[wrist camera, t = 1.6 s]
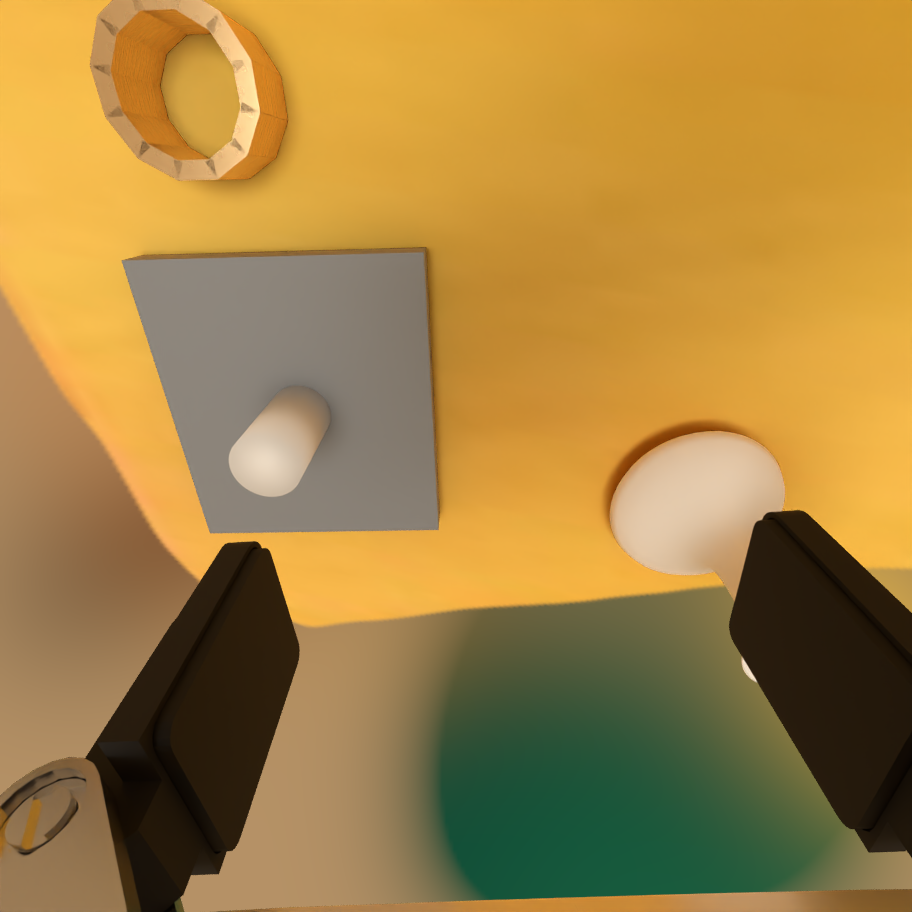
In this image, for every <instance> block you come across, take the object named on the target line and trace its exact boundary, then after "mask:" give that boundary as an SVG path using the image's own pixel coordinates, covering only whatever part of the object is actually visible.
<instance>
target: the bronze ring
mask: <svg viewBox="0 0 912 912" xmlns="http://www.w3.org/2000/svg"><path fill="white" fill-rule="evenodd" d="M187 34H212V35H213V37H214V38H215V40H216V42H217V43H218V45H219V46H220V48H221V49H222V51H223V52H224V54H225V55H226V57H227V58H228V60H229V61H230V63H231V64H232V66H233V69H234V74H235V79H236V84H237V90H238V95H239V100H240V105H241V108H240V111H239V115H238V119H237V122H236V126H235V129H234V133H233V137H232V140H231V141H230V142H229V143H228V144H226V145H225V146H224V147H223V148H222V149H220V150H219V151H218V152H217V153H216V154H214V155H213V156H212V157H211V158H210V159H209V158H207V157H205V156H204V155H202V154H200V153H198V152H197V151H195V150H193V149H191V148H189V147H188V145H187V144H186V143H185V141H184V140H183V139H182V137H181V136H180V134H179V133H178V132H177V130H176V129H175V128H174V126H173V125H172V124H171V122H170V121H169V120H168V116H167V112H166V108H165V104H164V100H163V96H162V92H161V88H160V83H161V78H162V73H163V69H164V64H165V59H166V54H167V53H168V52H169V51H170V50H171V49H172V48H173V47H175V46H176V45H177V44H178V43H179V42H180V41H181V40H182V39H183V38H184V37H185V36H186V35H187ZM90 65H91V66H90V68H91V71H92V74H93V78H94V81H95V84H96V87H97V91H98V94H99V97H100V101H101V104H102V107H103V111H104V114H105V117H106V119H107V120H108V121H109V122H110V124H111V125H112V126H113V128H114V129H115V130H116V131H117V133H118V134H119V135H120V136H121V138H122V139H123V140H124V142H125V143H126V144H127V145H128V147H129V148H130V149H131V150H132V152H133V153H134V154H135V155H136V157H137V158H138V159H140V160H141V161H143V162H145V163H147V164H149V165H151V166H152V167H154V168H156V169H158V170H160V171H162V172H164V173H165V174H167V175H169V176H171V177H173V178H175V179H176V180H179V181H183V180H226V179H250V178H251V177H253V176H254V175H255V174H256V173H258V172H259V171H260V170H261V169H263V168H264V167H265V166H266V165H268V164H269V163H270V162H271V161H273V160H274V159H275V158H276V157H277V153H278V150H279V147H280V144H281V141H282V138H283V135H284V131H285V128H286V125H287V122H288V118H287V112H286V105H285V99H284V93H283V86H282V80H281V75H280V74H279V72H278V70H277V69H276V67H275V66H274V64H273V63H272V61H271V59H270V58H269V56H268V55H267V53H266V51H265V50H264V48H263V47H262V45H261V43H260V42H259V40H258V39H257V37H256V36H255V35H254V34H253V33H251V32H250V31H248V30H247V29H246V28H244V27H243V26H241V25H240V24H238V23H237V22H235V21H234V20H232V19H231V18H229V17H228V16H226V15H225V14H223V13H222V12H220V11H219V10H217V9H216V8H214V7H212V6H211V5H209V4H208V3H206V2H205V1H203V0H112V1H111V2H110V3H109V4H108V5H107V6H106V7H105V8H104V9H103V10H102V11H101V12H100V13H99V14H98V16H97V21H96V28H95V35H94V41H93V48H92V54H91V61H90Z"/></svg>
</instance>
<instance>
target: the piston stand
mask: <svg viewBox="0 0 912 912" xmlns="http://www.w3.org/2000/svg"><path fill="white" fill-rule="evenodd" d="M122 263H123V266H124V269H125V272H126V275H127V279H128V282H129V285H130V288H131V291H132V294H133V297H134V300H135V303H136V306H137V309H138V312H139V316H140V319H141V322H142V325H143V328H144V331H145V334H146V337H147V340H148V343H149V346H150V349H151V353H152V356H153V359H154V362H155V365H156V368H157V371H158V374H159V377H160V380H161V383H162V386H163V390H164V393H165V396H166V399H167V402H168V405H169V408H170V411H171V414H172V417H173V420H174V423H175V426H176V430H177V433H178V436H179V439H180V442H181V445H182V448H183V451H184V454H185V457H186V460H187V463H188V467H189V470H190V473H191V476H192V479H193V482H194V485H195V488H196V491H197V494H198V497H199V500H200V504H201V507H202V510H203V513H204V516H205V519H206V522H207V525H208V528H209V531H210V533H261V532H326V531H392V530H439V514H440V511H439V492H438V472H437V453H436V433H435V414H434V394H433V375H432V355H431V336H430V316H429V297H428V277H427V258H426V248H390V249H353V250H317V251H280V252H243V253H206V254H170V255H141V256H137V257H133V258H129V259H126V260H122Z"/></svg>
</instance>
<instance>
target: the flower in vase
mask: <svg viewBox="0 0 912 912" xmlns="http://www.w3.org/2000/svg"><path fill="white" fill-rule="evenodd" d="M784 500H785V487H784V481H783V477H782V473H781V470H780V467H779V465H778V463H777V461H776V459H775V458H774V456H773V455H772V454H771V453H770V452H769V451H768V449H766V448H765V447H764V446H763V445H761V444H760V443H758V442H757V441H755V440H753V439H751V438H749V437H746V436H744V435H741V434H736V433H732V432H724V431H705V432H697V433H692V434H688V435H684V436H680V437H677V438H674V439H671V440H669V441H667V442H665V443H662V444H660V445H658V446H657V447H655V448H653V449H652V450H650V451H649V452H647V453H646V454H645V455H643V456H642V457H641V458H640V459H639V460H638V461H637V462H636V463H634V464H633V465H632V467H631V468H630V469H629V470H628V472H627V473H626V474H625V475H624V476H623V478H622V480H621V481H620V483H619V484H618V486H617V488H616V491H615V493H614V495H613V499H612V502H611V507H610V524H611V530H612V532H613V535H614V537H615V539H616V541H617V543H618V544H619V546H620V547H621V548H622V549H623V550H624V551H625V552H626V553H627V554H628V555H629V556H630V557H632V558H633V559H634V560H636V561H637V562H639V563H640V564H642V565H643V566H645V567H647V568H650V569H652V570H655V571H658V572H662V573H667V574H675V575H699V574H706V573H711V572H715V573H716V574H717V575H718V576H719V577H720V579H721V580H722V581H723V583H724V584H725V586H726V588H727V589H728V591H729V593H730V594H731V596H732V598H733V600H734V602H735V598H736V594H737V590H738V586H739V582H740V578H741V574H742V570H743V566H744V562H745V559H746V555H747V551H748V547H749V543H750V539H751V535H752V531H753V527H754V525H755V523H756V522H757V521H759V520H762V519H763V516H764V515H765V514H766V513H768V512H777V511H782V509H783V505H784ZM742 666H743V669H744V671H745V673H746V674H747V676H748V677H750V678H751V679H752V680H753V681H755V682H757V681H756V679H755V677H754V676H753V674H752V672H751V671H750V669H749V667H748V666H747V664H746V662H745V661H744V659H743V657H742ZM757 683H758V682H757Z"/></svg>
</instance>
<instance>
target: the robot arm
mask: <svg viewBox="0 0 912 912" xmlns="http://www.w3.org/2000/svg"><path fill="white" fill-rule="evenodd" d="M729 628H730V629H729V630H730V635H731V637H732V640H733V642H734V644H735V646H736V647H737V649H738V650H739V652H740V654H741V656H742V657H743V659H744V661H745V662H746V664H747V666H748V667H749V669H750V671H751V672H752V674H753V676H754V677H755V679H756V681H757V682H758V684H759V686H760V687H761V689H762V691H763V692H764V694H765V696H766V697H767V699H768V700H769V702H770V704H771V706H772V707H773V709H774V711H775V712H776V714H777V716H778V717H779V719H780V721H781V722H782V724H783V726H784V727H785V729H786V731H787V732H788V734H789V736H790V738H791V739H792V741H793V743H794V744H795V746H796V748H797V749H798V751H799V753H800V754H801V756H802V758H803V759H804V761H805V763H806V764H807V766H808V767H809V769H810V771H811V772H812V774H813V776H814V778H815V779H816V781H817V783H818V784H819V786H820V788H821V789H822V791H823V793H824V794H825V796H826V798H827V799H828V801H829V802H830V804H831V806H832V808H833V809H834V811H835V813H836V814H837V816H838V817H839V819H840V820H841V821H842V823H843V824H844V825H845V826H846V827H848V828H850V829H855V831H856V832H857V834H858V836H859V837H860V839H861V841H862V842H863V843H864V845H865V847H866V849H867V850H868V852H897V851H906V850H907V852H908V853H909V854H910V856H911V857H912V613H911V612H910V611H909V610H908V609H907V608H906V607H905V606H904V605H903V604H902V603H901V602H900V601H899V600H898V599H896V598H895V597H894V596H893V595H892V594H891V593H890V592H889V591H888V590H887V589H886V588H885V587H884V586H883V585H882V584H881V583H880V582H879V581H878V580H876V579H875V578H874V577H873V576H872V575H871V574H870V573H869V572H868V571H867V570H866V569H865V568H864V567H863V566H862V565H861V564H860V563H859V562H858V561H857V560H856V559H854V558H853V557H852V556H851V555H850V554H849V553H848V552H847V551H846V550H845V549H844V548H843V547H842V546H841V545H840V544H839V543H838V542H837V541H836V540H835V539H833V538H832V537H831V536H830V535H829V534H828V533H827V532H826V531H825V530H824V529H823V528H822V527H821V526H820V525H819V524H818V523H817V522H816V521H815V520H814V519H812V518H811V517H810V516H809V515H808V514H807V513H805V512H804V511H800V510H795V511H777V512H768V513H766V514H765V515H764V516H763V519H762V520H759V521H757V522H756V523H755V525H754V527H753V531H752V535H751V539H750V543H749V547H748V551H747V555H746V559H745V562H744V566H743V570H742V574H741V578H740V582H739V586H738V590H737V594H736V598H735V602H734V606H733V610H732V614H731V618H730V623H729ZM298 660H299V643H298V640H297V636H296V633H295V630H294V627H293V624H292V620H291V617H290V614H289V611H288V607H287V604H286V601H285V598H284V595H283V591H282V588H281V585H280V582H279V579H278V575H277V572H276V569H275V566H274V563H273V559H272V556H271V553H270V551H269V550H268V549H266V548H261V545H260V544H259V543H258V542H255V541H253V542H236V543H227V544H225V545H224V546H223V547H222V548H221V550H220V551H219V553H218V554H217V556H216V558H215V559H214V561H213V562H212V564H211V565H210V567H209V569H208V570H207V572H206V573H205V575H204V576H203V578H202V579H201V581H200V583H199V584H198V586H197V587H196V589H195V590H194V592H193V594H192V595H191V597H190V598H189V600H188V601H187V603H186V605H185V606H184V608H183V609H182V611H181V612H180V614H179V616H178V617H177V618H176V619H175V621H174V622H173V623H172V624H171V626H170V627H169V629H168V630H167V632H166V633H165V635H164V637H163V638H162V640H161V641H160V643H159V644H158V646H157V647H156V649H155V651H154V652H153V654H152V655H151V657H150V658H149V660H148V661H147V663H146V665H145V666H144V668H143V669H142V671H141V672H140V674H139V675H138V677H137V679H136V680H135V682H134V683H133V685H132V686H131V688H130V689H129V691H128V693H127V694H126V696H125V697H124V699H123V700H122V702H121V703H120V705H119V707H118V708H117V710H116V711H115V713H114V714H113V716H112V717H111V719H110V721H109V722H108V724H107V725H106V727H105V728H104V730H103V731H102V733H101V735H100V736H99V738H98V739H97V741H96V742H95V744H94V745H93V747H92V748H91V750H90V752H89V753H88V755H87V756H86V758H77V757H68V758H64V759H60V760H56V761H52V762H50V763H48V764H46V765H43V766H41V767H39V768H37V769H35V770H33V771H31V772H30V773H28V774H27V775H25V776H24V777H22V778H21V779H19V780H18V781H16V782H15V783H13V784H12V785H11V786H10V787H9V788H8V789H7V790H6V791H5V792H3V793H2V794H1V795H0V912H184V909H183V905H182V901H181V898H180V897H181V896H182V895H183V894H184V891H185V889H186V886H187V884H188V881H189V879H190V876H191V875H205V874H219V872H220V869H221V866H222V863H223V860H224V857H225V855H226V852H227V851H232V850H233V849H234V848H235V847H236V846H237V844H238V842H239V839H240V837H241V833H242V831H243V828H244V825H245V822H246V819H247V816H248V813H249V810H250V807H251V804H252V800H253V797H254V795H255V792H256V788H257V785H258V782H259V779H260V776H261V773H262V770H263V767H264V764H265V761H266V758H267V755H268V752H269V749H270V746H271V743H272V740H273V737H274V734H275V730H276V728H277V725H278V722H279V719H280V716H281V713H282V710H283V707H284V704H285V701H286V697H287V694H288V691H289V688H290V685H291V682H292V679H293V676H294V673H295V670H296V667H297V664H298ZM218 912H912V889H909V890H908V889H903V890H901V889H900V890H898V889H897V890H895V889H894V890H835V891H797V892H756V893H717V894H679V895H645V896H613V897H612V896H611V897H580V898H579V897H578V898H548V899H547V898H546V899H514V900H482V901H452V902H427V903H399V904H398V903H397V904H370V905H343V906H315V907H289V908H270V909H254V910H235V911H218Z"/></svg>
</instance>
